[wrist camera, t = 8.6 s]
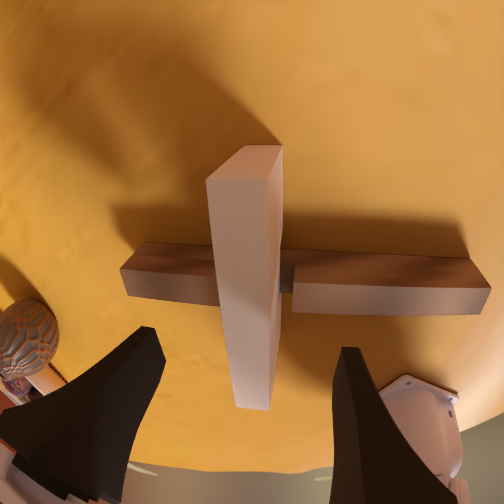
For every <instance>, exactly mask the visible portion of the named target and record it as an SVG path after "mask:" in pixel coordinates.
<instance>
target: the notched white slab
mask: <svg viewBox="0 0 504 504" xmlns="http://www.w3.org/2000/svg"><path fill="white" fill-rule="evenodd" d="M206 188H207V198H208V208H209V218H210V227H211V236H212V245H213V253H214V261H215V270H216V278H217V285H218V293H219V301H220V308H221V315H222V322H223V329H224V336H225V343H226V350H227V356H228V363H229V369H230V375H231V381H232V388H233V394H234V399H235V405H236V407H241V408H249V409H257V410H267V411H269V408H270V402H271V396H272V389H273V383H274V376H275V370H276V363H277V356H278V349H279V342H280V335H281V306H282V293H280V243H281V238H282V232H283V145H245V146H243V147H242V148H241V149H240V150H239V151H238V152H236V153H235V154H234V155H233V156H232V157H231V158H229V159H228V160H227V161H226V162H225V163H224V164H223V165H221V166H220V167H219V168H218V169H217V170H216V171H215V172H213V173H212V174H211V175H210V176H209V177H208V178H207V179H206Z"/></svg>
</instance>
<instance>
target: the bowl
mask: <svg viewBox="0 0 504 504" xmlns="http://www.w3.org/2000/svg"><path fill="white" fill-rule="evenodd" d="M64 385H66V383H65V382H64V381H63V379H62V378H61V377H60V376H59V375H58V374H57V373H56V372H55V371H54V370H53V369H52V368H51V367H50V366H49V365H47V366H46V367H45V368H44V369H42V370H41V371H40V372H38V373H36V374H34V375H31V376H25V377H18V378H14V379H11V380H9V381H7V382H6V381H4V380H3V379H2V378H1V377H0V389H1V390H2V391H3V392H4V393H5V394H6V395H7V396H8V397H9V398H10V399H11V400H12V401H13V402H14V403H16V404H17V405H18V406H19V405H22V404H25V403H28V402H31V401H33V400H36V399H38V398H40V397H43V396H45V395H47V394H49V393H51V392H53V391H55V390H57V389H59V388H61V387H62V386H64Z"/></svg>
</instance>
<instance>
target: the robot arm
mask: <svg viewBox="0 0 504 504" xmlns="http://www.w3.org/2000/svg"><path fill="white" fill-rule="evenodd" d="M165 363H166V359H165V356H164V354H163V351H162V348H161V345H160V342H159V340H158V337H157V334H156V331H155V328H150V327H145V326H141V327H140V328H139V329H137V330H136V331H135V332H134V333H133V334H131V335H130V336H129V337H128V338H127V339H126V340H124V341H123V342H122V343H121V344H120V345H119V346H117V347H116V348H115V349H114V350H113V351H111V352H110V353H109V354H108V355H106V356H105V357H104V358H103V359H102V360H100V361H99V362H98V363H96V364H95V365H94V366H92V367H91V368H90V369H88V370H87V371H86V372H84V373H83V374H82V375H80V376H79V377H77V378H76V379H74V380H72V381H71V382H69V383H68V384H66V385H64V386H62V387H61V388H59V389H57V390H55V391H53V392H51V393H49V394H47V395H45V396H43V397H40V398H38V399H36V400H33V401H31V402H28V403H25V404H22V405H19V406H16V407H13V408H9V409H5V410H3V412H2V414H1V415H0V438H1V439H3V440H4V441H5V442H6V443H7V444H8V445H9V446H11V447H12V448H13V449H14V450H16V451H17V453H16V455H15V454H13V453H12V452H11V451H10V450H9V449H7V448H6V447H5V446H4V445H3V444H1V443H0V500H1V502H2V503H3V504H88V501H89V499H91V500H93V501H95V502H98V499H99V498H100V499H103V500H105V501H107V502H109V503H111V504H119V503H121V498H122V490H123V483H124V478H125V473H126V469H127V464H128V460H129V456H130V453H131V449H132V446H133V442H134V439H135V436H136V433H137V430H138V428H139V425H140V423H141V421H142V419H143V416H144V414H145V412H146V410H147V408H148V406H149V404H150V402H151V400H152V397H153V395H154V393H155V391H156V389H157V387H158V384H159V382H160V379H161V376H162V373H163V370H164V367H165ZM459 400H460V398H459V396H458V395H455V394H453V393H450V392H448V391H445V390H443V389H440V388H438V387H436V386H433V385H431V384H428V383H426V382H424V381H421V380H419V379H416V378H414V377H412V376H409V375H403V376H401V377H400V378H398V379H397V380H395V381H394V382H393V383H391V384H390V385H389V386H387V387H386V388H384V389H383V390H381V391H380V392H378V390H377V388H376V386H375V384H374V382H373V379H372V377H371V375H370V373H369V370H368V368H367V366H366V363H365V361H364V358H363V356H362V353H361V350H360V349H359V348H358V347H342V348H341V352H340V356H339V360H338V364H337V368H336V371H335V375H334V378H333V393H332V413H333V433H334V468H333V478H332V487H331V495H330V502H329V504H471V501H470V494H469V489H468V485H467V482H466V481H465V480H462V479H461V478H459V477H457V478H455V479H453V478H454V476H455V475H456V474H457V472H458V470H459V468H460V466H461V463H462V458H463V449H462V443H461V438H460V433H459V429H458V424H457V420H456V415H455V411H454V407H453V405H454V404H455V403H457V402H458V401H459Z"/></svg>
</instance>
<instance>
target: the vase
mask: <svg viewBox="0 0 504 504" xmlns="http://www.w3.org/2000/svg"><path fill="white" fill-rule="evenodd" d="M58 343H59V328H58V323H57V321H56V319H55V317H54V315H53V314H52V313H51V311H50V310H49V309H48V308H47V307H46V306H45V305H43V304H42V303H40V302H39V301H35V300H29V299H26V300H20V301H17V302H15V303H13V304H12V305H10V306H9V307H8V308H7V309H6V310H5V311H4V312H3V313H2V314H1V315H0V377H1V378H2V379H3V380H4V381H6V382H7V381H9V380H11V379H14V378H18V377H25V376H31V375H34V374H36V373H38V372H40V371H41V370H42V369H44V368H45V367H46V366H47V365H48V364H49V362H50V361H51V360H52V358H53V356H54V355H55V353H56V350H57V347H58Z"/></svg>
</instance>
